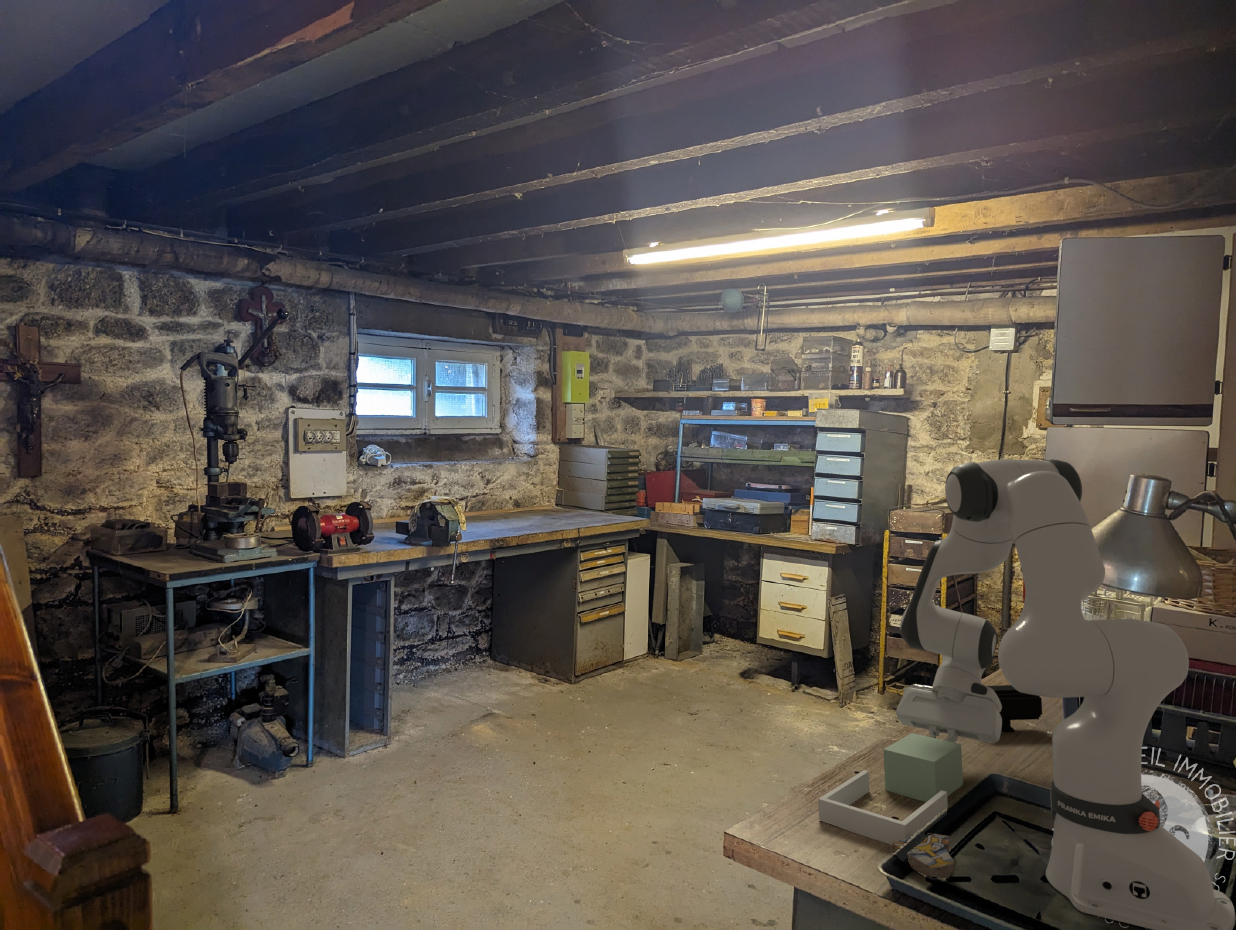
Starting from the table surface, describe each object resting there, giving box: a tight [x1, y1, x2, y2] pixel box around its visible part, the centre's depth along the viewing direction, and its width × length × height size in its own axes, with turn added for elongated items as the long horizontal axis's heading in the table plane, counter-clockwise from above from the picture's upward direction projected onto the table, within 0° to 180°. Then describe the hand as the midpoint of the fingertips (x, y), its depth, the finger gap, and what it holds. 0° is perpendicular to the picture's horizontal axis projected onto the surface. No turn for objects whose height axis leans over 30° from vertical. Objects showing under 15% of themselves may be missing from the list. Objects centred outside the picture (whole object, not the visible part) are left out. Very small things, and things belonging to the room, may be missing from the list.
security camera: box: [987, 684, 1043, 734], centre depth 179 cm, size 7×18×10 cm, turn 88°
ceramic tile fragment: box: [888, 833, 956, 879], centre depth 121 cm, size 12×3×10 cm
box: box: [817, 769, 949, 846], centre depth 138 cm, size 16×17×4 cm
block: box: [883, 732, 964, 803], centre depth 150 cm, size 10×12×8 cm
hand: (938, 750), depth 154 cm, fingers closed
